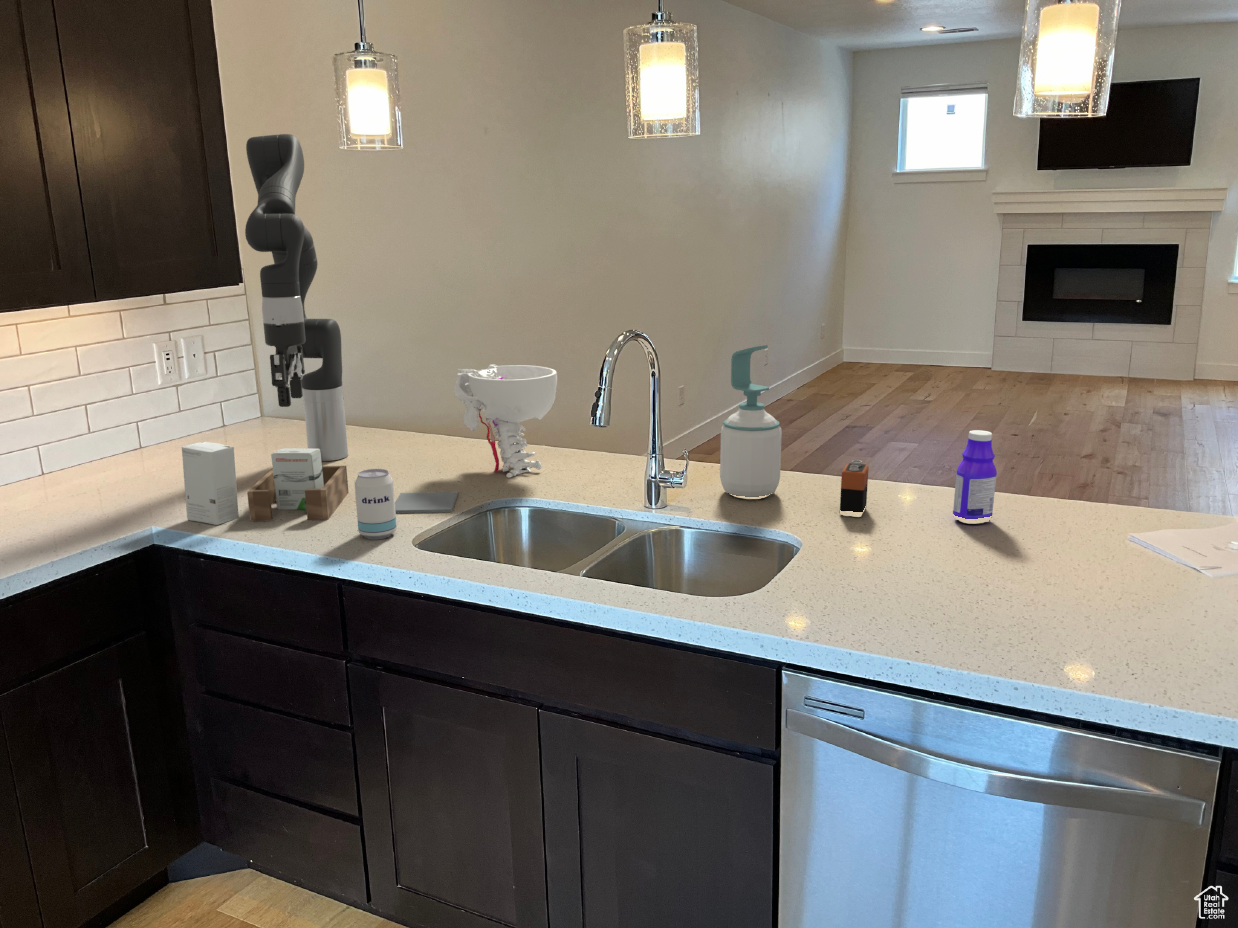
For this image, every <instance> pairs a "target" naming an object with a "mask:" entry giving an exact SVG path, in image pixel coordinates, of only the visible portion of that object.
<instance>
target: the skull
mask: <svg viewBox="0 0 1238 928" xmlns="http://www.w3.org/2000/svg"><path fill="white" fill-rule="evenodd" d="M457 372H458V373H456V377H457V378H456V381H455V383H454V388H453V389H454V390H453V391H454V396H455V397H456V398H458V400H459V401H460V402H461V403H463V404H465V412H464V413H463V423H464V426H466V427H468V428H469V430H470V432H474V431H476V430H477V429H478V427H479V425H480V423H481V424H482V425H484V426H485V427H486V428H487V433H486V440H487V442H488V444H489V445H490V447H491V450H492V451H491V452H492V455H493V459H494V462H495V467H494V473H495V472H499V469H500V459H501V462H502V463H503V464H502V472H503V473H506V472H507V471H508V473H507V474H506V475H505V476H506V478H512V477H517V476H519V475H520V474H524V473H528V472H529V473H531V472H532V470H531V468H533V469H536V470H539V471H541V470H542V469H543V466H542V463H541V462H540V460H539V459H536V460H535V461H534V460H527V459H529V458H531V457H535V456H536V452H535V451H532V452H526V450H525V449H526V448H527V447H528V446H529V445H528V444H529V443H527V439H526V438H522V437H523V436H524V437H525V433H524V432H525V431H526V428H525V426H524V425H522V424H521V423H520V422H524V421H528V420H530V419H537V420H540V421H541V420H542V419H543V418H544V417H545V416H546V415H547V413H548V412H549V411H550V410H551V408H552V406H554V402H555V399H556V397H557V396H556V395H557V387H558V372H557V370H555V369H553V368H550V367H546V366H539V365H538V366H537V365H524V364H523V365H517V364H515V365H514V364H513V365H497V364H489V365H488V367H487V368H485V369H478V370H476V369H474V368H464V369H463V368H457ZM481 411H483V415H484V418H485V420H486V423H485V422H484V421H483V417H482V416H481ZM478 419H480V423H479V420H478ZM490 422H491V423H492V424H493V427H492V426H491V423H490ZM492 428H493V429H492ZM493 431H494V433H495V435H494V433H493ZM521 431H523V432H521ZM496 439H499V440H498V441H497V447H498V449H500V451H499V455H500V458H499V456H498V450H497V447H496Z"/></svg>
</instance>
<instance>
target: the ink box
mask: <svg viewBox="0 0 1238 928" xmlns="http://www.w3.org/2000/svg"><path fill="white" fill-rule="evenodd" d="M270 456H271V458H270V459H271V464H272V469H273V475H274V484H275V492H276V501H275V502H276V508H277V510H290V511H291V510H292V511H293V510H295V511H296V510H297V511H298V510H300V511H301V510H302V511H303V510H306V511H307V508H306V498H305V490H306V489H322V488H323V486H324V482H323V472H322V466H323V463H322V461H321V453H320V449H308V448H283V447H282V448H280V449H277V450H275V451H274V452H272V453H270Z"/></svg>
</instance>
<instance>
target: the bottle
mask: <svg viewBox="0 0 1238 928" xmlns="http://www.w3.org/2000/svg"><path fill="white" fill-rule="evenodd" d="M967 438H968V439H967V444H966V447H965V449H964V450H963V452H962V453H961V455H962V459H961V461H960V463H959V464H958V466H957V469H956V475H955V487H954V498H953V510H952V514H954V515H955V516H958V517H962V518H965V519H978V518H984V517H990V516H992V517H993V511H994V503H995V502H994V501H995V494H996V493H995V492H996V491H995V490H996V482H997V467H996V466H995V463H994V461H993V460H994V459H995V457H996V456H995V454H994V450H993V445H992V442H993V441H992V440H993V433H992V432H991V431H987V430H981V429H979V430H978V429H975V430H974V429H973V430H970V431H969V432H968V436H967Z"/></svg>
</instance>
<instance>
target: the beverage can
mask: <svg viewBox="0 0 1238 928" xmlns="http://www.w3.org/2000/svg"><path fill="white" fill-rule="evenodd" d="M394 486H395V485H394V479H393V478H392V476H391V475H390V471H389V470H387V469H383V468H370V469H364V470H360V471H359V472H358V473H357V477H356V479H355V481H354V491H355V492H354V493H355V506H356V517H357V518H356V519H357V529H358V530H357V531H358V533H359V534H360V535H361V536H364V538H366V539H369V540H382V539H386V538H389V537H390V536H392V534H393V533H395V532H396V530H397V529H398V528H397V513H396V511H395V502H396V500H395V487H394Z"/></svg>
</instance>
